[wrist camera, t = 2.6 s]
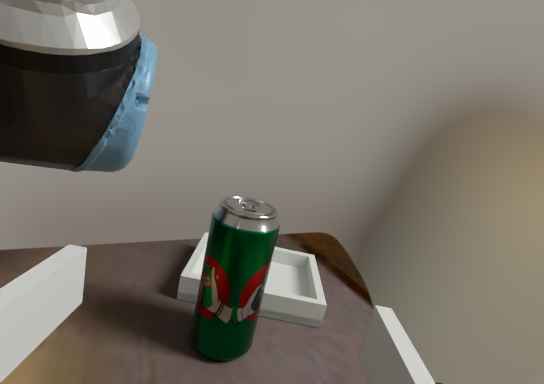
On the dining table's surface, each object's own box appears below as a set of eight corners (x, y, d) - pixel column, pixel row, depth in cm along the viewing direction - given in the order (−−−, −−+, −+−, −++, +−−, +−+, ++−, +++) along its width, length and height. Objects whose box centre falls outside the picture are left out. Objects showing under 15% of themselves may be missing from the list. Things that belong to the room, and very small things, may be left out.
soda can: (248, 324, 30) (277, 200, 27) (253, 368, 25) (288, 223, 22) (192, 319, 29) (215, 190, 26) (185, 363, 24) (213, 211, 22)
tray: (176, 299, 32) (180, 275, 31) (202, 250, 42) (205, 232, 42) (320, 327, 32) (326, 305, 31) (309, 272, 43) (314, 255, 42)
